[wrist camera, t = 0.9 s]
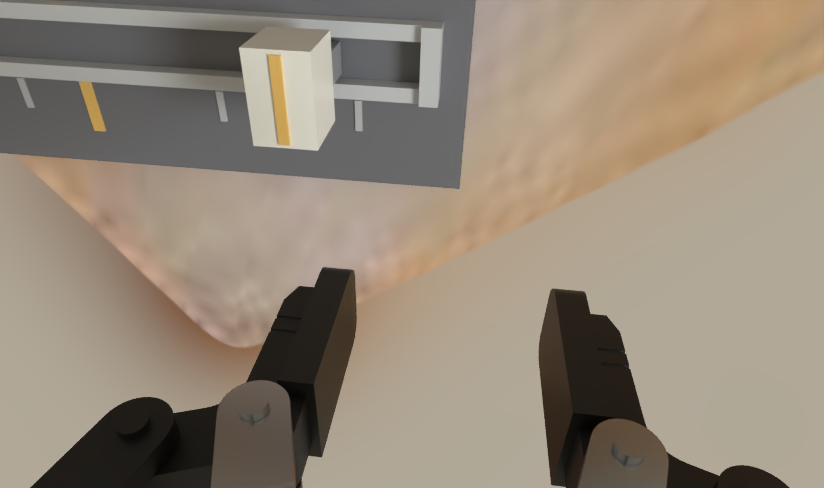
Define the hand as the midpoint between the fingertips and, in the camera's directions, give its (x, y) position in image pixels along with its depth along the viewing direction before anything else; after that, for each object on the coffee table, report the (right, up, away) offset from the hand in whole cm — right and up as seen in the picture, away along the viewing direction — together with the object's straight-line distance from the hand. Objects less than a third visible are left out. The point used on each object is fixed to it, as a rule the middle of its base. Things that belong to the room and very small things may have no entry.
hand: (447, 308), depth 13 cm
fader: (-6, +12, +16) cm, 21 cm away
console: (-13, +13, +19) cm, 27 cm away
